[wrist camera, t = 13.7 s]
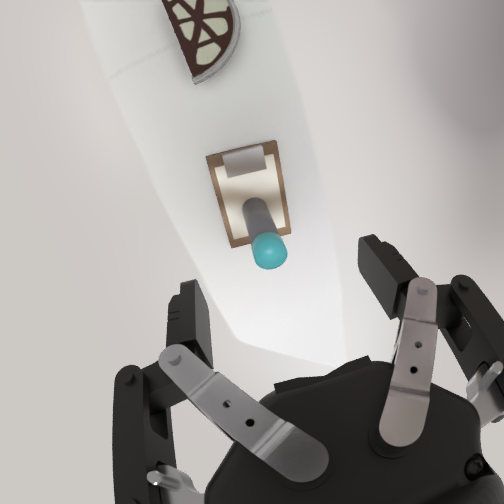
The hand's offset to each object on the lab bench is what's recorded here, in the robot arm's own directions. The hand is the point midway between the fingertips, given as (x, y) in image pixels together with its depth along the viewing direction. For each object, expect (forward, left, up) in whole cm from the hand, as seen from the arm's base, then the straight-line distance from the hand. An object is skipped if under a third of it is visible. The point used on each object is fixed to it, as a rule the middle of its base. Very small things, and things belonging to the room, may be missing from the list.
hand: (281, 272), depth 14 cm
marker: (+10, +1, -25) cm, 27 cm away
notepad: (+8, +1, -26) cm, 27 cm away
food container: (-15, 0, -26) cm, 30 cm away
